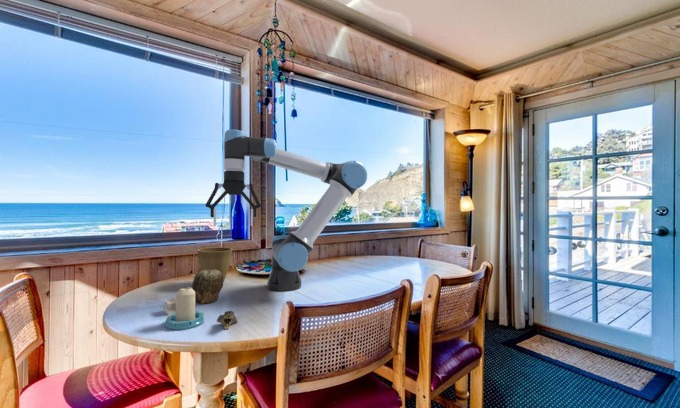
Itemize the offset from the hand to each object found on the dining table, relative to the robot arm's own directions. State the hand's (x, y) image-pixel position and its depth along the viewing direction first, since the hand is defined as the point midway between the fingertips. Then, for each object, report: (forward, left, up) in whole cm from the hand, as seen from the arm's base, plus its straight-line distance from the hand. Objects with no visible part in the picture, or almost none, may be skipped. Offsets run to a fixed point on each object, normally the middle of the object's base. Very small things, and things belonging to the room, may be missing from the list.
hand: (233, 225), depth 127 cm
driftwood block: (+19, +9, -29) cm, 36 cm away
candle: (+14, +21, -28) cm, 38 cm away
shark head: (+1, +28, -29) cm, 40 cm away
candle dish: (+14, +21, -29) cm, 38 cm away
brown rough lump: (+9, -1, -29) cm, 30 cm away
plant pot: (+8, -26, -29) cm, 40 cm away
